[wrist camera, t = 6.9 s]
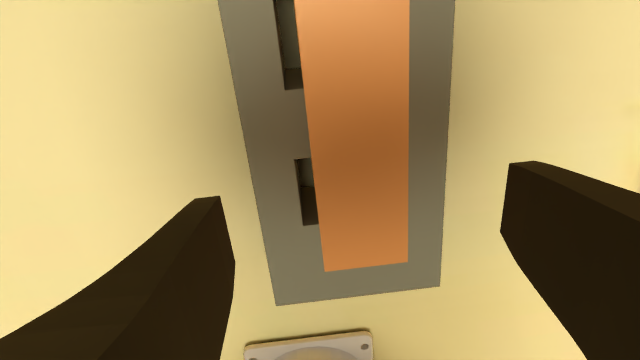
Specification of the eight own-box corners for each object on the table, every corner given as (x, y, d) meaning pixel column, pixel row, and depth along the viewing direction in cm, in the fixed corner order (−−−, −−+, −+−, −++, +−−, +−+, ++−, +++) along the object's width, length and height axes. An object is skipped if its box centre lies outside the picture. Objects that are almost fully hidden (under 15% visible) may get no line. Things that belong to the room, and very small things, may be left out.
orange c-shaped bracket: (374, 179, 21) (407, 262, 15) (314, 186, 21) (324, 271, 15) (366, -22, 17) (409, -13, 11) (291, -14, 16) (294, -1, 11)
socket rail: (419, 243, 23) (439, 286, 20) (277, 260, 23) (276, 305, 20) (428, -162, 15) (465, -194, 12) (207, -139, 15) (186, -167, 12)
